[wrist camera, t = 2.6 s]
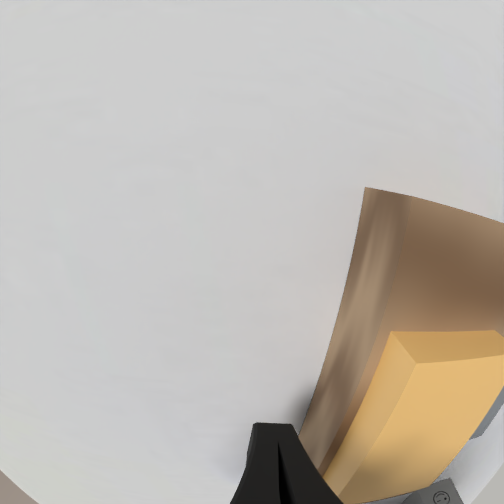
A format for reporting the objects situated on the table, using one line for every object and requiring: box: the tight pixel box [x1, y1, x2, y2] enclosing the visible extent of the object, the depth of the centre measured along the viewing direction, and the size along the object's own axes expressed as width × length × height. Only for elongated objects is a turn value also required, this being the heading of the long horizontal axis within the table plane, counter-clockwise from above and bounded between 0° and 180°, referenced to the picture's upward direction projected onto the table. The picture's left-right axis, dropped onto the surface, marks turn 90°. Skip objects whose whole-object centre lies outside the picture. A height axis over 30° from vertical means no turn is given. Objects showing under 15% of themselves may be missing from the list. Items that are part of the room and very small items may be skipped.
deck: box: [298, 187, 504, 504], centre depth 13 cm, size 18×9×4 cm, turn 172°
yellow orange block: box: [323, 330, 504, 504], centre depth 10 cm, size 9×6×2 cm, turn 172°
